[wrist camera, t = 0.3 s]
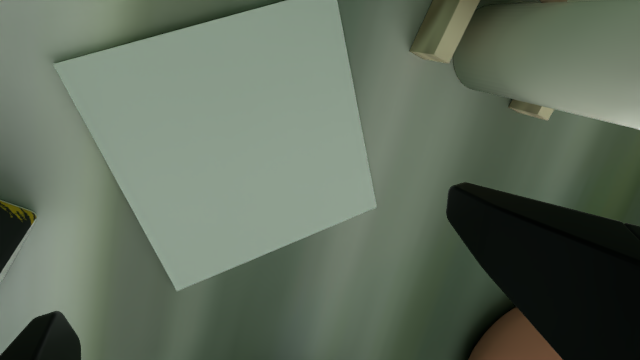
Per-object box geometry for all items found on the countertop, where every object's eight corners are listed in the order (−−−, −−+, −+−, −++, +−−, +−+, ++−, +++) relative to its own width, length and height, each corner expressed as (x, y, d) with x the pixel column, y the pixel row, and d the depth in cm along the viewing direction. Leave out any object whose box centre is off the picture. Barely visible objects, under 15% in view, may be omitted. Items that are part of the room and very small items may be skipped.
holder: (518, 112, 28) (547, 120, 26) (409, 51, 23) (433, 54, 21) (577, 5, 27) (613, 4, 24) (472, -86, 22) (506, -97, 20)
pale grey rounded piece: (493, 101, 27) (693, 154, 17) (439, 71, 25) (635, 111, 14) (550, -7, 26) (812, -22, 15) (498, -50, 23) (768, -104, 13)
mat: (374, 204, 27) (376, 207, 27) (176, 287, 24) (176, 291, 24) (331, -13, 21) (334, -13, 20) (55, 63, 18) (52, 64, 17)
